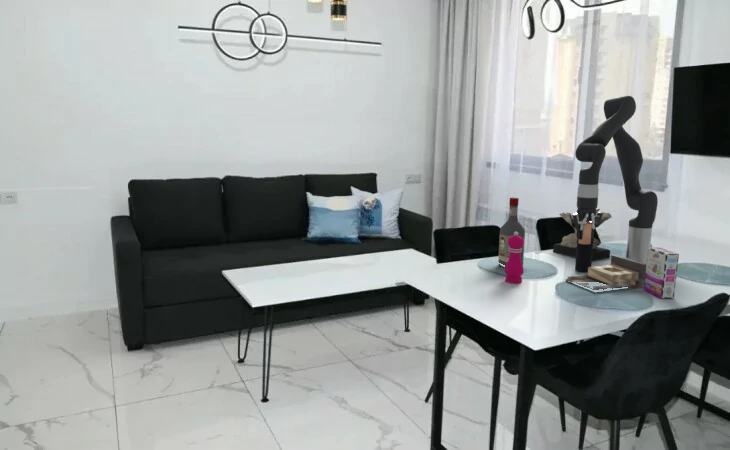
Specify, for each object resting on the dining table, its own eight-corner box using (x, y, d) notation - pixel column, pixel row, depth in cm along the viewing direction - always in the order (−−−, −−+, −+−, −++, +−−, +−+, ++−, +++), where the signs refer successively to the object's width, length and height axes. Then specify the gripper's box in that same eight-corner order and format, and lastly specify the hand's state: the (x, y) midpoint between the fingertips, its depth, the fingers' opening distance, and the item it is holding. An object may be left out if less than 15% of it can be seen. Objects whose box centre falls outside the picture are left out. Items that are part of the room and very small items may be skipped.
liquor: (513, 262, 241) (517, 196, 235) (525, 268, 232) (529, 199, 227) (495, 264, 238) (499, 197, 232) (507, 269, 229) (511, 200, 224)
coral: (547, 250, 266) (550, 207, 262) (576, 246, 275) (579, 204, 271) (589, 261, 244) (593, 214, 240) (619, 256, 253) (623, 211, 249)
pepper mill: (512, 284, 208) (515, 234, 204) (500, 280, 214) (502, 230, 210) (527, 282, 211) (529, 232, 207) (514, 277, 217) (516, 229, 214)
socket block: (612, 274, 217) (613, 264, 217) (637, 283, 206) (638, 272, 205) (587, 277, 213) (588, 267, 213) (611, 286, 202) (612, 275, 201)
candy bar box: (675, 298, 191) (680, 253, 188) (661, 299, 191) (666, 254, 188) (655, 289, 202) (660, 246, 199) (643, 289, 202) (647, 247, 199)
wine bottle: (592, 273, 224) (598, 201, 219) (576, 272, 226) (581, 201, 220) (589, 269, 231) (595, 199, 225) (573, 268, 232) (578, 199, 226)
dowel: (585, 241, 215) (586, 221, 213) (592, 243, 211) (594, 223, 209) (576, 242, 213) (577, 222, 212) (583, 244, 209) (585, 224, 208)
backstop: (613, 276, 220) (615, 254, 218) (645, 287, 205) (647, 264, 203) (565, 281, 212) (567, 259, 211) (594, 293, 197) (596, 269, 196)
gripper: (595, 193, 214) (593, 235, 217) (565, 195, 210) (563, 238, 213) (609, 195, 207) (606, 239, 210) (578, 197, 203) (576, 242, 206)
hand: (584, 238), depth 212 cm, fingers closed on dowel, 4 cm apart
